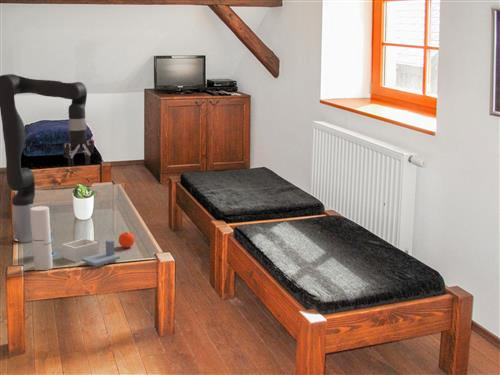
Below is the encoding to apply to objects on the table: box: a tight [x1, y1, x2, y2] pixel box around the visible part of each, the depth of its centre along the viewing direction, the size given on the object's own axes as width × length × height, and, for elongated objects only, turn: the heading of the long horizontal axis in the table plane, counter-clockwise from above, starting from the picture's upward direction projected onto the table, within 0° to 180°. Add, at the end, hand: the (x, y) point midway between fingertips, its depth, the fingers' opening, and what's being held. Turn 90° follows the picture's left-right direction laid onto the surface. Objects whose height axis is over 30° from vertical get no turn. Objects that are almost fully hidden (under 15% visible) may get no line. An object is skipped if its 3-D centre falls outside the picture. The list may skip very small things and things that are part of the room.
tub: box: [62, 237, 100, 263], centre depth 319 cm, size 12×9×6 cm
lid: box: [80, 239, 121, 268], centre depth 311 cm, size 12×9×8 cm
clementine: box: [118, 231, 135, 249], centre depth 333 cm, size 8×7×7 cm
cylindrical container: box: [30, 205, 54, 271], centre depth 302 cm, size 7×7×25 cm
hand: (79, 165), depth 330 cm, fingers open, 8 cm apart
